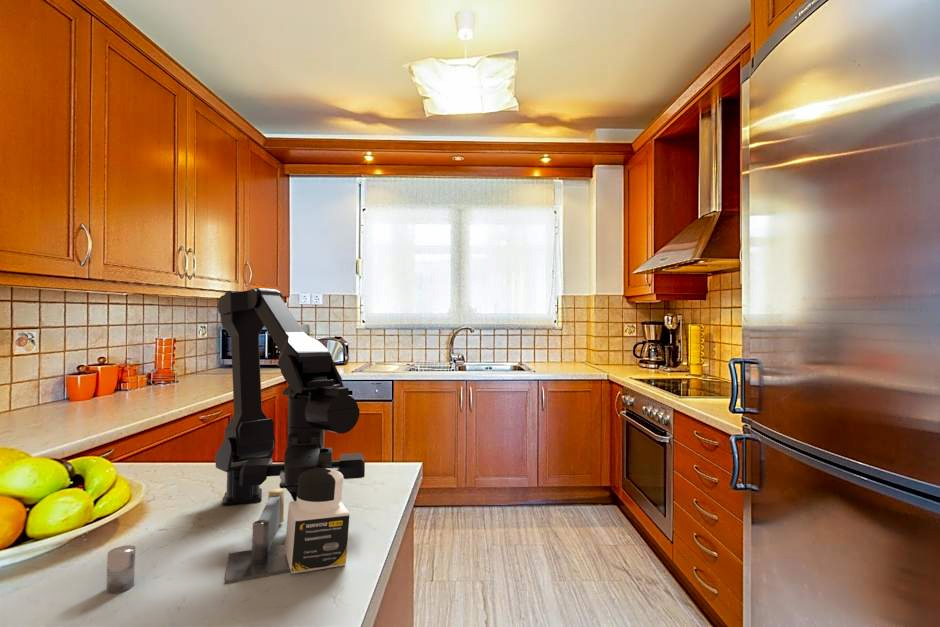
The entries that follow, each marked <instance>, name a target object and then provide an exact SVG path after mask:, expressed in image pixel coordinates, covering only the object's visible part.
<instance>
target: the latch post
mask: <svg viewBox="0 0 940 627" xmlns="http://www.w3.org/2000/svg"><path fill="white" fill-rule="evenodd" d="M106 562H107V564H106V588H105V589H106V591H105V592H106V593H107V594H119V593H123V592H125V591H129V590H130V589H132V588H133V587H134V586H135V575H136V572H135V569H136V568H135V567H136V546H135V545H132V544H130V545H121V546H117V547H114V548H112V549H110V550H109V551H107V561H106Z"/></svg>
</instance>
